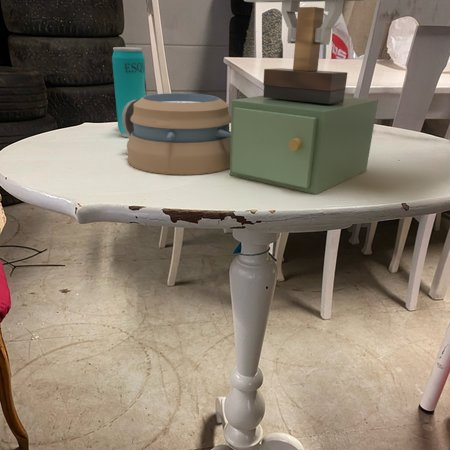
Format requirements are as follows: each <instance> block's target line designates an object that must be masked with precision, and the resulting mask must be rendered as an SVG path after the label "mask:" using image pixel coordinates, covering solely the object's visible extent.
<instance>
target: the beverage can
mask: <svg viewBox="0 0 450 450" xmlns="http://www.w3.org/2000/svg"><path fill="white" fill-rule="evenodd" d="M112 50H113V53H112V55H111V62H112V73H113V85H114V97H115V108H116V109H115V110H116V119H117V129H118V130H119V133H120V135H121V136H122V137H123V138H128V139H129V138H130V137H131V136H129V135H128V134H127V133H126V132H125V130H124V128H123V125H122V112H123V109H124V107H125V106H126V105H127V103H128V102H130V101H132V100H140V99H141V98H142V97H144V96H147V95H148V93H147V77H146V76H147V75H146V61H145V60H146V59H145V58H146V57H145V56H144V54H143V48H142V47H132V46H131V47H130V46H129V47H128V46H115V47H114V46H113V47H112Z"/></svg>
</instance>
